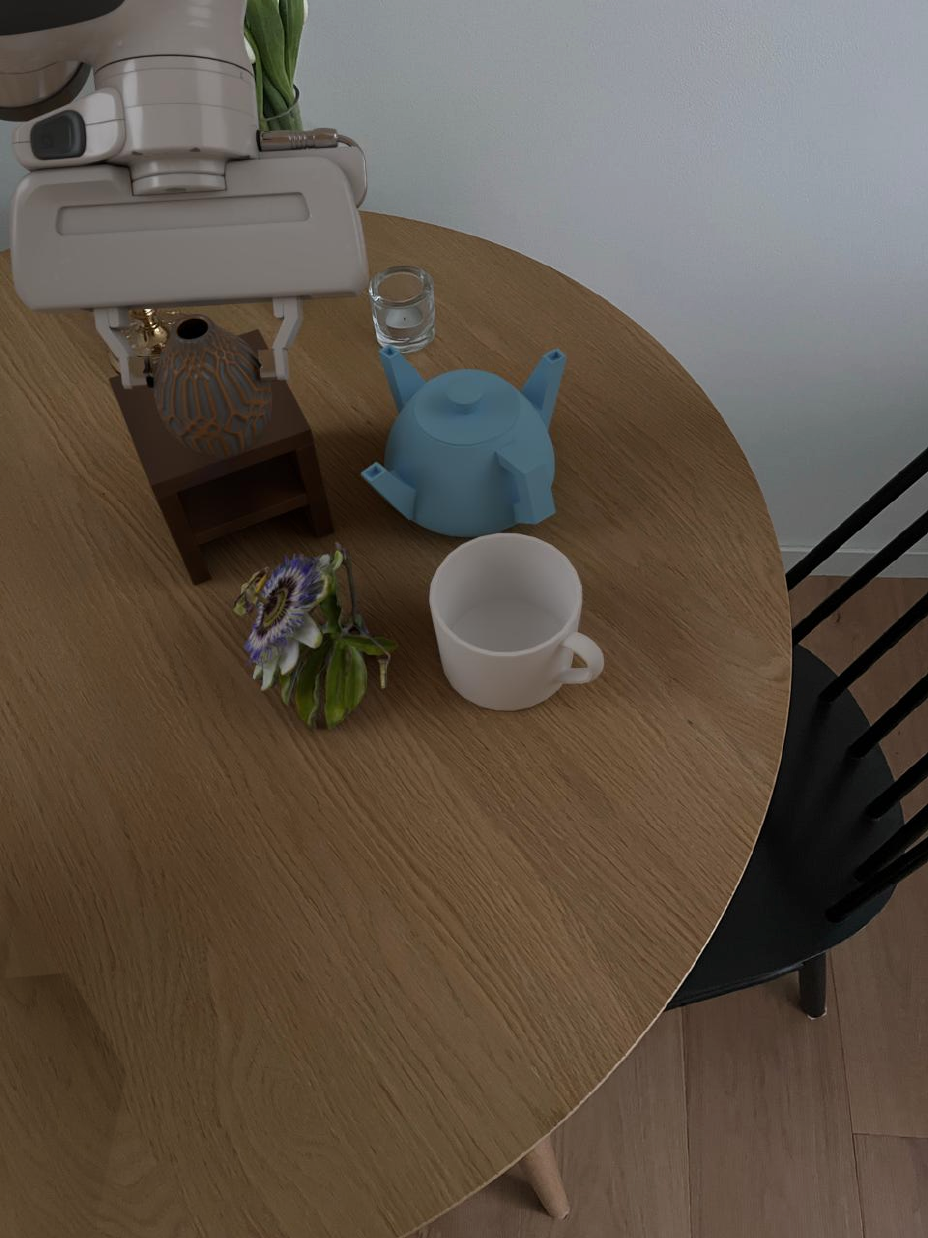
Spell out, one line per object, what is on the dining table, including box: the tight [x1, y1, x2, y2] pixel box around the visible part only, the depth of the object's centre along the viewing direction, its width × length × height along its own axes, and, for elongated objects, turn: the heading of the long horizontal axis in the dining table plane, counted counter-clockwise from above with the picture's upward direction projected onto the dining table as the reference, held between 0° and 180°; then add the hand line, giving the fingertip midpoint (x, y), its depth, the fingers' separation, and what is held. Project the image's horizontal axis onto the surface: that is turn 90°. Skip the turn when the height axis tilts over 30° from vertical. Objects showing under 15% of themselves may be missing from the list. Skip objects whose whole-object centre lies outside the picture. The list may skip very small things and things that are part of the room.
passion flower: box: [233, 541, 399, 731], centre depth 76 cm, size 11×11×12 cm
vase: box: [153, 313, 272, 458], centre depth 64 cm, size 7×7×9 cm
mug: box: [428, 532, 605, 712], centre depth 75 cm, size 13×10×8 cm
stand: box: [108, 328, 336, 586], centre depth 83 cm, size 12×12×12 cm
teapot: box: [360, 343, 568, 538], centre depth 84 cm, size 15×15×11 cm
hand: (206, 384), depth 63 cm, fingers closed on vase, 7 cm apart
